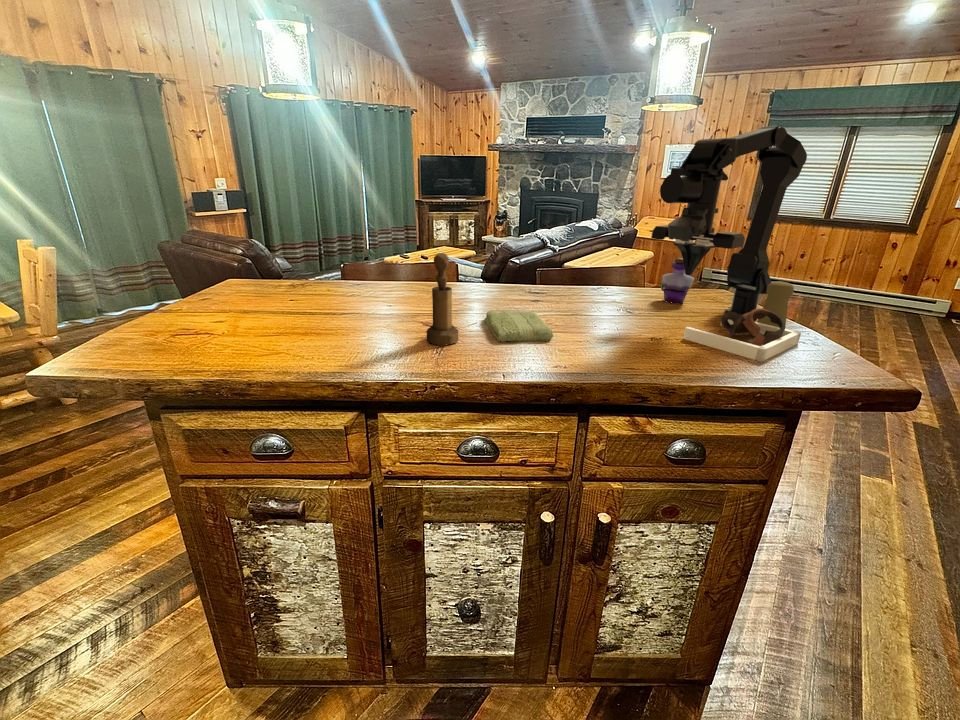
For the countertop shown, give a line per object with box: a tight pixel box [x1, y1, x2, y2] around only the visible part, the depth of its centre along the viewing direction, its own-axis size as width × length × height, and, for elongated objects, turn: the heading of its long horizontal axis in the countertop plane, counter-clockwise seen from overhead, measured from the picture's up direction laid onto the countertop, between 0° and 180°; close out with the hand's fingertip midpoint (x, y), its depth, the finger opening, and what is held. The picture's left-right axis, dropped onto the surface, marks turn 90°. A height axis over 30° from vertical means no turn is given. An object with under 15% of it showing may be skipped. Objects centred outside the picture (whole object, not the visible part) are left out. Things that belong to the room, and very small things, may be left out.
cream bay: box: [683, 314, 802, 363], centre depth 100 cm, size 17×16×2 cm
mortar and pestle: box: [426, 252, 459, 346], centre depth 95 cm, size 7×6×18 cm
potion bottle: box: [660, 257, 695, 305], centre depth 129 cm, size 9×9×12 cm
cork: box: [756, 280, 795, 327], centre depth 107 cm, size 6×6×11 cm
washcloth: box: [484, 310, 554, 343], centre depth 105 cm, size 13×18×3 cm
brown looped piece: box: [720, 308, 786, 346], centre depth 100 cm, size 12×10×8 cm
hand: (688, 275), depth 106 cm, fingers closed
